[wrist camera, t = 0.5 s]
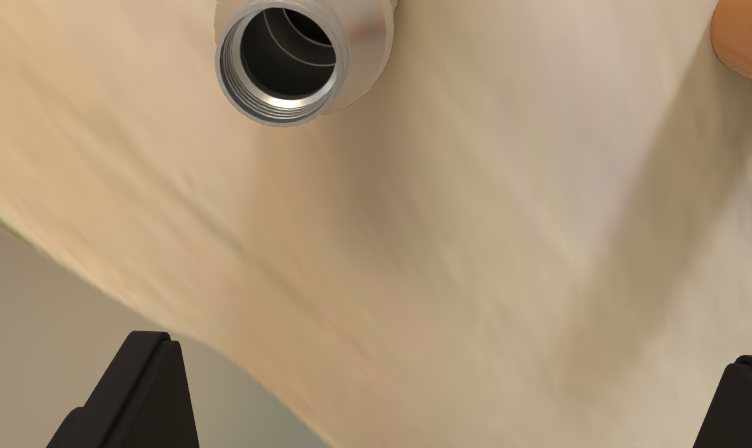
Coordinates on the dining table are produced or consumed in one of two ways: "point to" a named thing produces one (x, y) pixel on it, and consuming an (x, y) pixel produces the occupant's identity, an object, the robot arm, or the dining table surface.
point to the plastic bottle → (300, 55)
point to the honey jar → (733, 35)
